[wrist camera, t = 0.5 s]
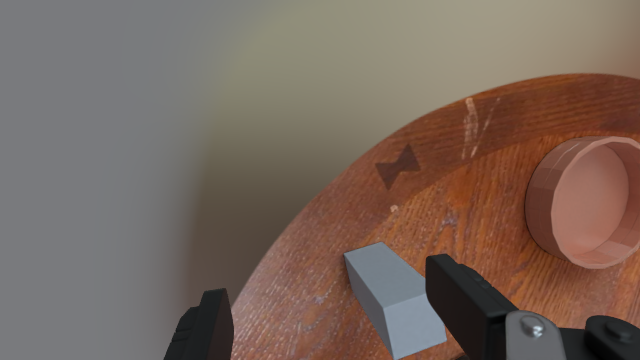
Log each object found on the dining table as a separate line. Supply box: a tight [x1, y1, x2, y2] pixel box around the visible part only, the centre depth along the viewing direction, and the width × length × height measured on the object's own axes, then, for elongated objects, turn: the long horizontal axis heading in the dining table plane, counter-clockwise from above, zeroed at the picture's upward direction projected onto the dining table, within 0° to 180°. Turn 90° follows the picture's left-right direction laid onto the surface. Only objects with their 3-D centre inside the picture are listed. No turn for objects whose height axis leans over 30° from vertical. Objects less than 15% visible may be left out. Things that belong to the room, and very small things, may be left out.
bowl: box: [525, 136, 640, 269], centre depth 36 cm, size 15×15×4 cm
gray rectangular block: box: [344, 242, 447, 360], centre depth 28 cm, size 4×4×11 cm
